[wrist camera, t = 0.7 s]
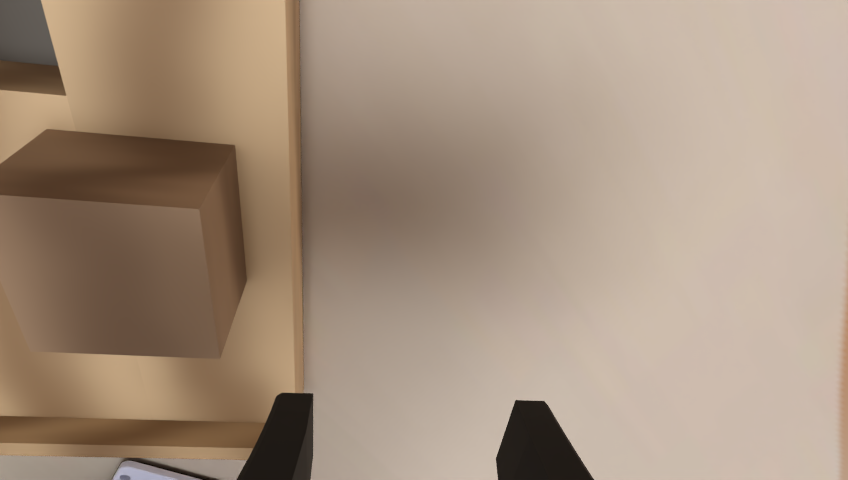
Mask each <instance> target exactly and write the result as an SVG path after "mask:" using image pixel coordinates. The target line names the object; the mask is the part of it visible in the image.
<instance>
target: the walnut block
mask: <svg viewBox="0 0 848 480" xmlns="http://www.w3.org/2000/svg"><path fill="white" fill-rule="evenodd" d="M0 281H1V284H2V286H3V289H4V291H5V293H6V296H7V298H8V300H9V303H10V305H11V307H12V310H13V312H14V314H15V317H16V319H17V321H18V324H19V326H20V328H21V331H22V333H23V335H24V338H25V340H26V342H27V345H28V347H29V349H30V352H55V353H80V354H106V355H131V356H156V357H181V358H206V359H220V358H221V355H222V352H223V349H224V346H225V343H226V340H227V337H228V335H229V332H230V329H231V326H232V323H233V320H234V317H235V314H236V311H237V308H238V306H239V303H240V300H241V297H242V294H243V291H244V288H245V285H246V282H247V275H246V264H245V252H244V241H243V229H242V218H241V207H240V195H239V184H238V172H237V161H236V150H235V145H230V144H218V143H207V142H195V141H183V140H171V139H160V138H148V137H136V136H124V135H113V134H101V133H89V132H77V131H66V130H54V129H46V130H45V131H43V132H42V133H41V134H39V135H38V136H37V137H35V138H34V139H33V140H31V141H30V142H29V143H27V144H26V145H25V146H23V147H22V148H21V149H19V150H18V151H17V152H15V153H14V154H13V155H11V156H10V157H9V158H7V159H6V160H5V161H3V162H2V163H1V164H0Z"/></svg>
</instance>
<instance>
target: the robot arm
mask: <svg viewBox="0 0 848 480" xmlns="http://www.w3.org/2000/svg"><path fill="white" fill-rule="evenodd" d="M312 459H313V394H310V393H280V394H279V395H277V396H276V398H275V401H274V403H273V406H272V409H271V411H270V414H269V416H268V418H267V421H266V423H265V425H264V427H263V430H262V432H261V434H260V436H259V438H258V440H257V442H256V444H255V446H254V448H253V450H252V452H251V454H250V456H249V458H248V460H247V462H246V464H245V466H244V467H243V469H242V471H241V473H240V475H239V476H238V478H237V480H310V478H311V468H312ZM496 463H497V473H498V480H594V479H593V478H592V476H591V475H590V473H589V471H588V470H587V468H586V467H585V465H584V464H583V462H582V461H581V459H580V457H579V456H578V454H577V453H576V451H575V449H574V448H573V446H572V445H571V443H570V441H569V440H568V438H567V437H566V435H565V433H564V432H563V430H562V428H561V427H560V425H559V423H558V422H557V420H556V418H555V417H554V415H553V413H552V411H551V410H550V408H549V406H548V405H547V404H546V403H545V402H544V401H522V400H516V401H515V404H514V407H513V410H512V413H511V416H510V419H509V422H508V425H507V428H506V431H505V433H504V436H503V439H502V442H501V445H500V448H499V451H498V454H497V457H496ZM112 480H201V479H198V478H194V477H190V476H187V475H183V474H179V473H176V472H172V471H168V470H164V469H161V468H157V467H153V466H150V465H146V464H142V463H139V462H135V461H125V462H122V463H121V464H120V466H119V468H118V470H117V471H116V473H115V475H114V477H113V478H112Z"/></svg>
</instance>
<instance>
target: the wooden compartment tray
mask: <svg viewBox="0 0 848 480" xmlns="http://www.w3.org/2000/svg"><path fill="white" fill-rule="evenodd" d="M46 129H54V130H66V131H77V132H89V133H101V134H113V135H124V136H136V137H148V138H160V139H171V140H183V141H195V142H207V143H218V144H230V145H235V150H236V161H237V172H238V184H239V195H240V207H241V218H242V229H243V241H244V252H245V264H246V275H247V282H246V285H245V288H244V291H243V294H242V297H241V300H240V303H239V306H238V308H237V311H236V314H235V317H234V320H233V323H232V326H231V329H230V332H229V335H228V337H227V340H226V343H225V346H224V349H223V352H222V355H221V358H220V359H206V358H181V357H156V356H131V355H106V354H80V353H55V352H30V349H29V347H28V345H27V342H26V340H25V338H24V335H23V333H22V331H21V328H20V326H19V324H18V321H17V319H16V317H15V314H14V312H13V310H12V307H11V305H10V303H9V300H8V298H7V296H6V293H5V291H4V289H3V286H2V284H1V281H0V455H20V456H73V457H126V458H179V459H233V460H248V458H249V456H250V454H251V452H252V450H253V448H254V446H255V444H256V442H257V440H258V438H259V436H260V434H261V432H262V430H263V427H264V425H265V423H266V421H267V418H268V416H269V414H270V411H271V409H272V406H273V403H274V401H275V398H276V396H277V395H279V394H280V393H303V390H304V368H303V280H302V193H301V105H300V18H299V0H0V164H1V163H2V162H3V161H5V160H6V159H7V158H9V157H10V156H11V155H13V154H14V153H15V152H17V151H18V150H19V149H21V148H22V147H23V146H25V145H26V144H27V143H29V142H30V141H31V140H33V139H34V138H35V137H37V136H38V135H39V134H41V133H42V132H43V131H45V130H46Z"/></svg>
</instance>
